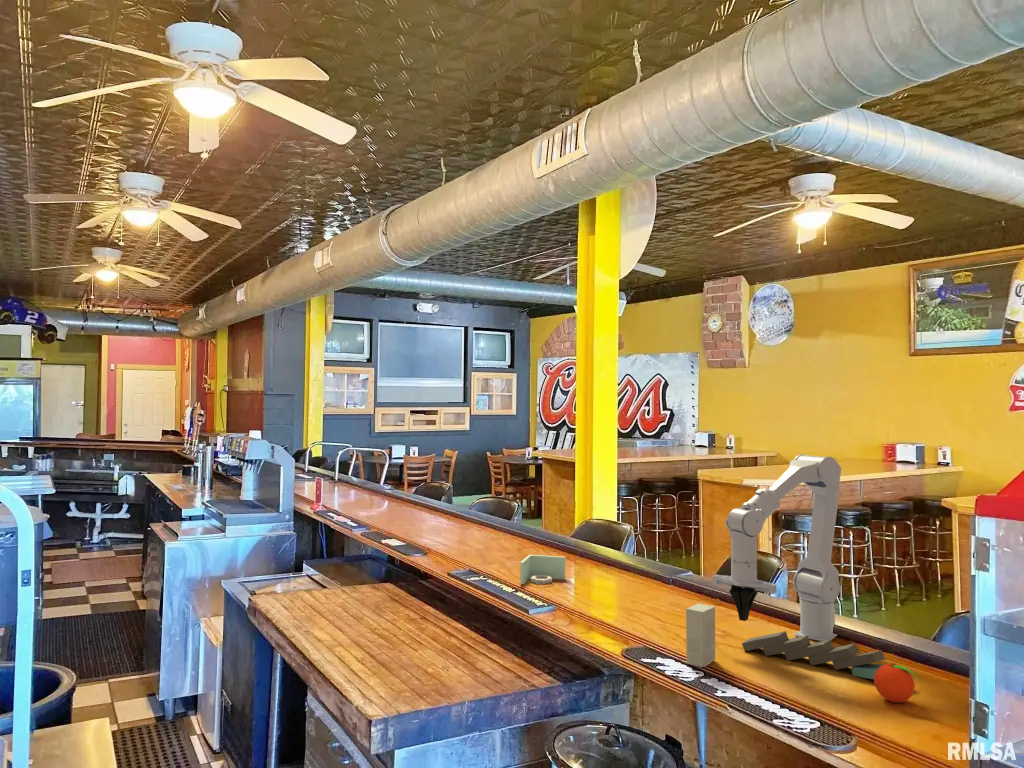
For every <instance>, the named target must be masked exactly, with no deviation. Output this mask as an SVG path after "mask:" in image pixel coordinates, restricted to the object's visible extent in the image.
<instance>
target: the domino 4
mask: <svg viewBox="0 0 1024 768" xmlns="http://www.w3.org/2000/svg"><path fill="white" fill-rule="evenodd" d="M858 653H859V650H858V647H857V645H856V643H851V644H846V645H842V646H837V647H833V649H831V650H830V651H829V652H827V653H824V654H819V655H814V656H809V657H807V659H808V661H809V663H810V665H811V666H814V665H821V664H824V663H830V662H832V661H835V660H840V659H845V658H850V657H852V656H854V655H857V654H858Z"/></svg>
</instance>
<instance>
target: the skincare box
mask: <svg viewBox="0 0 1024 768" xmlns="http://www.w3.org/2000/svg"><path fill="white" fill-rule="evenodd" d="M685 611H686V612H685V613H686V614H685V615H686V617H685V618H686V623H685V625H686V627H685V628H686V629H685V630H686V632H685V634H686V639H685V640H686V647H685V648H686V655H685V656H686V664H687V665H689V664H690V666H695V667H698V666H699V668H702V667H704V668H706V667H707V666H709V665H710V664H712V663H713V662H712V661H714V660H715V661H716V607H715V606H714V605H709V604H704V603H696V604H694V605H692V606H690V607H687V608H686V609H685ZM715 661H714V662H715ZM711 662H712V663H711ZM708 664H709V665H708ZM705 666H706V667H705Z"/></svg>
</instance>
